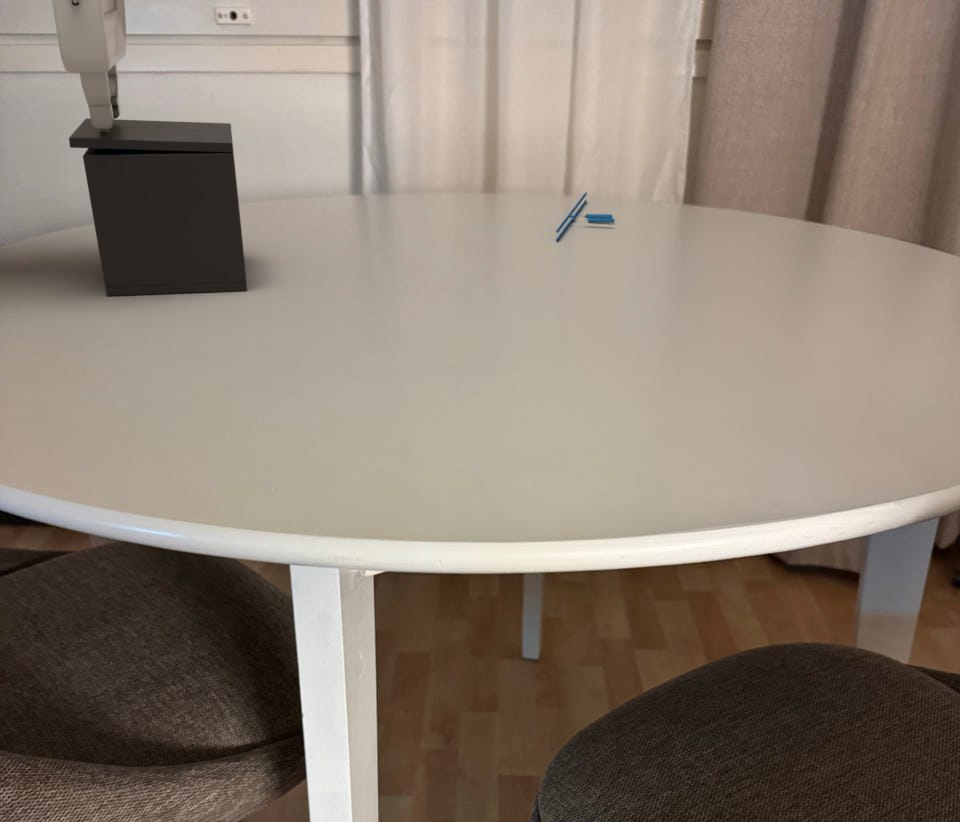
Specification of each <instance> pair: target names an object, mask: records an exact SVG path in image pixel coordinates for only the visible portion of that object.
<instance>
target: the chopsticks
mask: <svg viewBox="0 0 960 822" xmlns="http://www.w3.org/2000/svg"><path fill="white" fill-rule="evenodd" d="M587 193H588V192H587V191H585V192H584V194H582V196H581V197H580V199H579V200H578V201H577V203H576V204H575V205H574V206H573V208H572V209H571V210H570V211H569V213H568V215H566V217H565V218H564V220H563V221H562V222H561V223H560V225H559V226H558V227H557V228H556V234H558V233H559V232H560V231H561V230H562V231H561V232H560V233H559V235H558V236H557V237H556V238H555V239H556V240H555V241H556V242H559V241H560V240H561V238H562V237H563V236H564V234H565V233H566V231H567V230H568V229H569V227H570V226H571V225H572V223H573V222H576V221H577V219H576V217H578V216H579V213H580V212H581V211H582V209H583V208H584V207H585V205H586V204H587V203H588V201H587V199H585V198H586V196H587V195H588V194H587ZM584 199H585V200H584ZM583 200H584V201H583ZM580 204H581V205H580ZM575 211H576V212H575ZM574 212H575V213H574ZM584 217H585V219H586V221H587V222H588V223H596V224H597V223H600V224H601V223H602V224H603V223H604V224H615V222H616V220H615V219H616V218H614V217H613V214H611V213H600V214H599V213H586V214H585V215H583V218H584ZM569 219H570V220H569ZM566 223H567V224H566ZM565 224H566V225H565ZM563 227H564V228H563ZM562 228H563V229H562Z"/></svg>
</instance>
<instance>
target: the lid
mask: <svg viewBox="0 0 960 822" xmlns="http://www.w3.org/2000/svg"><path fill="white" fill-rule="evenodd" d="M108 81H109V83H108V85H109V94H110V98H111V97H112V96H113V94H114V93H115V84H114V82H113V80H112V79H111V78H109V77H108ZM110 102H111V101H110ZM232 141H233V132H232V124H231V123H229V122H228V123H227V122H201V121H199V122H198V121H168V120H167V121H166V120H144V119H143V120H141V119H140V120H139V119H114V124H113V126H112V127H111V128H110V129H96V128H94V127H93V126H92V124H91V118H85V119H83V121H82V122H81V123H80V124H79V125H78V127H77V128H76V129H75V130H74V131H73V133H71V135H70V136H69V137H68V142H69V143H68V144H69V147H70V148H72V149H88V148H98V149H132V150H166V151H201V152H233V151H234V145H233V146H232Z"/></svg>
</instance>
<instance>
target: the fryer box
mask: <svg viewBox="0 0 960 822" xmlns="http://www.w3.org/2000/svg"><path fill="white" fill-rule="evenodd" d="M232 146H233V147H234V141H233V140H232ZM82 161H83V166H84V172H85V177H86V183H87V189H88V195H89V202H90V207H91V213H92V219H93V224H94V230H95V235H96V241H97V247H98V253H99V259H100V264H101V265H100V266H101V271H102V277H103V282H104V287H105V294H106V296H107V297H114V296H115V297H119V296H121V297H122V296H143V295H144V296H145V295H148V296H149V295H171V294H173V295H174V294H175V295H176V294H197V293H224V292H225V293H226V292H247V291H248V285H247V273H246V261H245V251H244V242H243V241H244V239H243V230H242V222H241V213H240V211H241V210H240V203H239V201H240V200H239V193H238V183H237V182H238V181H237V173H236V162H235V153H234V150H233V152H201V151H166V150H132V149H98V148H86V150H85V152H84V154H83V155H82Z"/></svg>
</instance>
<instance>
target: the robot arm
mask: <svg viewBox="0 0 960 822" xmlns="http://www.w3.org/2000/svg"><path fill="white" fill-rule="evenodd" d="M51 2H52V3H51V4H52V10H53V17H54V24H55V30H56V35H57V43H58V48H59V54H60V58H61V62H62V65H63V68H64V70H65V71H66V72H67V73H69V74H70V73H71V74H79V79H80V84H81V87H82V90H83V91H82V92H83V94H84V97H85V100H86V104H87V106H88V111H89V119H91V124H92V126H93V127H94V128H96V129H110V128H111V127H112V126H113V124H114V119H115V120H117V119H118V118H119V117H120V116H121V113H122V112H121V105H120V97H119V75H118V67H117V63H118V62H120V61H121V60H122V59H123V58H124V57H125V56H126V53H127V52H126V51H127V22H126V5H125V0H51ZM108 77H109V78H111V79H112V80H113V82H114V84H115V93H114V94H113V96H112V97H111V98H110V94H109V85H108V83H109V81H108ZM110 101H111V102H110Z"/></svg>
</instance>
